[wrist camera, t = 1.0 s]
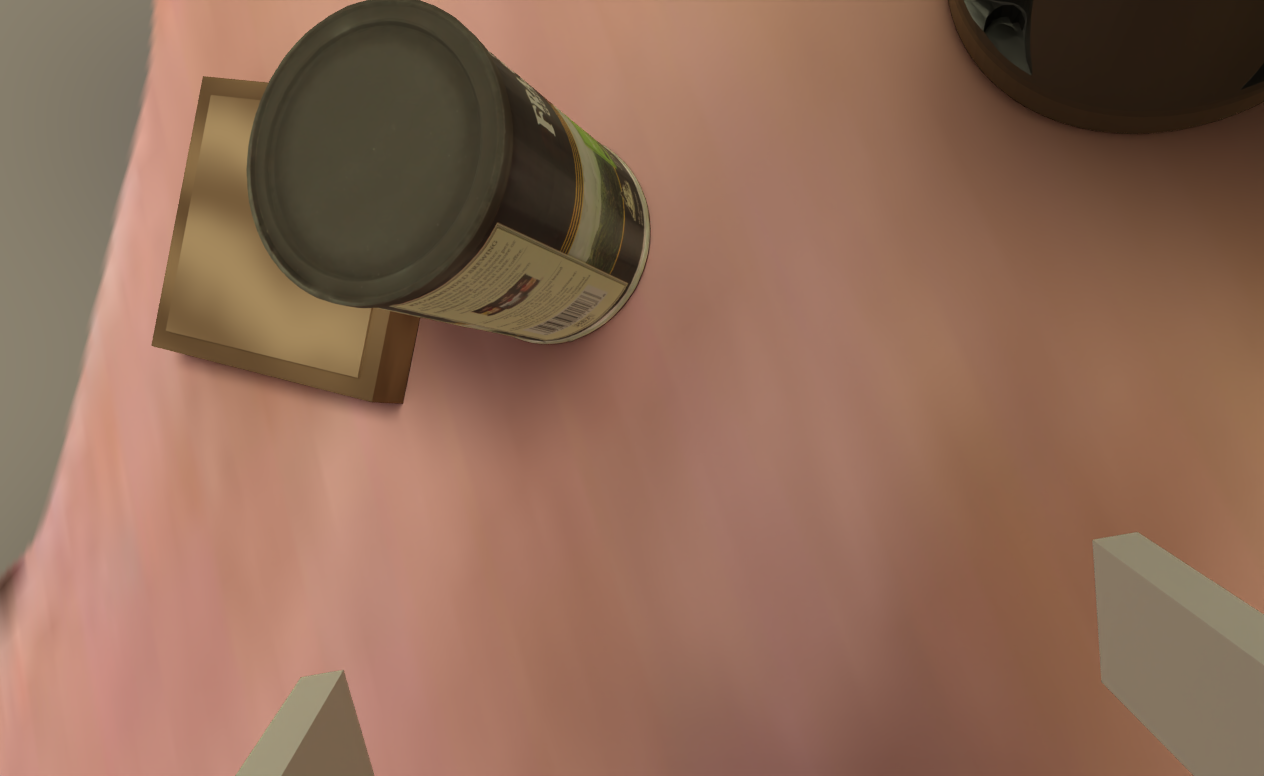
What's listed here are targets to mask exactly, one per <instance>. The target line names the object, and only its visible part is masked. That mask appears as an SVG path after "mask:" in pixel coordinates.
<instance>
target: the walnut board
mask: <svg viewBox="0 0 1264 776" xmlns="http://www.w3.org/2000/svg"><path fill="white" fill-rule="evenodd" d="M267 85H268V83H266V82H256V81H246V80H235V79H225V78H215V77H204V76H203V79H202V85H201V90H200V95H199V100H198V105H197V111H196V116H195V121H194V126H193V132H192V137H191V142H190V147H189V152H188V158H187V163H186V168H185V173H184V179H183V184H182V189H181V194H180V199H179V205H178V210H177V215H176V220H175V226H174V231H173V236H172V241H171V246H170V252H169V257H168V262H167V267H166V273H165V278H164V283H163V288H162V293H161V299H160V304H159V309H158V314H157V319H156V325H155V330H154V335H153V340H152V346H154V347H158V348H162V349H166V350H170V351H174V352H178V353H182V354H186V355H189V356H193V357H197V358H201V359H205V360H209V361H213V362H217V363H221V364H225V365H229V366H233V367H236V368H240V369H244V370H248V371H252V372H256V373H260V374H264V375H268V376H272V377H276V378H279V379H283V380H287V381H291V382H295V383H299V384H303V385H307V386H311V387H315V388H319V389H323V390H326V391H330V392H334V393H338V394H342V395H346V396H350V397H354V398H358V399H362V400H366V401H369V402H381V403H403V399H404V394H405V389H406V384H407V379H408V374H409V369H410V364H411V359H412V354H413V349H414V344H415V339H416V334H417V329H418V324H419V319H420V317H417V316H412V315H407V314H402V313H398V312H393V311H388V310H384V309H379V308H355V307H349V306H343V305H339V304H335V303H331V302H328V301H325V300H322V299H319V298H316V297H314V296H312V295H310V294H309V293H307V292H305V291H304V290H302V289H301V288H299V287H298V286H297V285H296V284H294V283H293V282H292V281H291V280H289V279H288V278H287V277H286V276H285V274H284V273H283V272H282V271H281V270H280V269H279V268H278V266H277V265H276V264H275V263H274V261H273V260H272V259H271V257H270V256H269V254H268V252H267V250H266V249H265V247H264V245H263V243H262V241H261V239H260V236H259V234H258V232H257V229H256V226H255V223H254V220H253V217H252V213H251V209H250V204H249V198H248V189H247V172H246V168H247V154H248V145H249V139H250V134H251V130H252V126H253V122H254V118H255V115H256V112H257V109H258V106H259V103H260V100H261V98H262V96H263V94H264V92H265V89H266V87H267Z"/></svg>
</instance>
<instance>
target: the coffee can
mask: <svg viewBox="0 0 1264 776" xmlns="http://www.w3.org/2000/svg"><path fill="white" fill-rule="evenodd" d="M246 172H247V189H248V198H249V204H250V209H251V213H252V217H253V220H254V223H255V226H256V229H257V232H258V234H259V236H260V239H261V241H262V243H263V245H264V247H265V249H266V250H267V252H268V254H269V256H270V257H271V259H272V260H273V261H274V263H275V264H276V265H277V266H278V268H279V269H280V270H281V271H282V272H283V273H284V274H285V276H286V277H287V278H288V279H289V280H291V281H292V282H293V283H294V284H296V285H297V286H298V287H299V288H301V289H302V290H304V291H305V292H307V293H309V294H310V295H312V296H314V297H316V298H319V299H322V300H325V301H328V302H331V303H335V304H339V305H343V306H349V307H355V308H379V309H384V310H388V311H393V312H398V313H402V314H407V315H412V316H417V317H422V318H427V319H431V320H436V321H440V322H445V323H449V324H454V325H458V326H463V327H468V328H474V329H479V330H484V331H488V332H493V333H498V334H503V335H508V336H512V337H515V338H517V339H520V340H523V341H527V342H531V343H539V344H556V343H563V342H567V341H573V340H575V339H577V338H580V337H582V336H584V335H587V334H589V333H591V332H592V331H594V330H596V329H597V328H599V327H600V326H602V325H603V324H605V323H606V322H607V321H608V320H610V319H611V318H612V317H613V316H614V315H615V314H616V313H617V312H618V311H619V310H620V309H621V308H622V306H623V305H624V304H625V303H626V301H627V300H628V298H629V297H630V296H631V294H632V293H633V292H634V290H635V288H636V286H637V284H638V281H639V279H640V277H641V274H642V272H643V270H644V266H645V263H646V259H647V255H648V250H649V241H650V221H649V213H648V207H647V203H646V199H645V197H644V194H643V191H642V189H641V186H640V184H639V182H638V181H637V179H636V177H635V176H634V174H633V173H632V171H631V170H630V168H629V167H628V166H627V165H626V164H625V162H623V161H622V160H621V159H620V158H619V157H618V156H617V155H616V154H615V153H614V152H612V151H611V150H610V149H608V148H607V147H606V146H604V145H601V144H600V143H599V142H597V141H596V140H595V139H594V138H592V137H591V136H590V135H589V134H588V133H586V132H585V131H584V130H583V129H582V128H580V127H579V126H578V125H577V124H575V123H574V122H573V121H572V120H571V119H569V118H568V117H567V116H566V115H565V114H563V113H562V112H561V111H560V110H559V109H557V108H556V107H555V106H554V105H553V104H552V103H550V102H549V101H548V100H547V99H545V98H544V97H543V96H542V95H541V94H540V93H538V92H537V91H536V90H535V89H534V88H533V87H531V86H530V85H529V84H528V83H526V82H525V81H524V80H523V79H522V78H520V77H519V76H518V75H517V74H516V73H514V72H513V71H512V70H510V69H509V68H508V67H507V66H506V65H505V64H504V63H503V62H501V61H500V60H499V59H497V58H496V57H495V56H494V55H493V54H492V53H490V52H489V51H488V50H487V49H486V48H485V46H484V45H483V44H482V43H481V42H480V41H479V40H478V38H477V37H476V36H475V35H474V34H473V33H472V32H470V31H469V30H468V29H467V28H466V27H465V26H464V25H463V24H462V23H461V22H460V21H458V20H457V19H456V18H455V17H453V16H452V15H450V14H449V13H447V12H445V11H443V10H442V9H440V8H438V7H436V6H434V5H431V4H428V3H426V2H423V1H420V0H366V1H363V2H359V3H356V4H352V5H349V6H347V7H345V8H343V9H341V10H339V11H337V12H335V13H334V14H332V15H330V16H328V17H327V18H326V19H324V20H323V21H321V22H320V23H318V24H317V25H316V26H314V27H313V28H312V29H311V30H309V31H308V32H307V33H306V34H305V35H304V36H303V37H302V38H301V39H300V40H299V41H298V42H297V43H296V44H295V45H294V46H293V48H292V49H291V50H290V51H289V52H288V54H287V55H286V56H285V57H284V59H283V60H282V62H281V63H280V65H279V67H278V68H277V69H276V71H275V73H274V75H273V76H272V78H271V79H270V81H269V83H268V85H267V87H266V89H265V92H264V94H263V96H262V98H261V100H260V103H259V106H258V109H257V112H256V115H255V118H254V122H253V126H252V130H251V134H250V139H249V145H248V154H247V168H246Z"/></svg>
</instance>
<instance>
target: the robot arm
mask: <svg viewBox="0 0 1264 776" xmlns="http://www.w3.org/2000/svg"><path fill="white" fill-rule="evenodd" d="M948 2H949V6H950V10H951V14H952V18H953V21H954V24H955V27H956V29H957V31H958V34H959V36H960V38H961V40H962V42H963V44H964V46H965V48H966V49H967V51H968V53H969V54H970V56H971V57H972V59H973V60H974V62H975V63H976V64H977V65H978V67H979V68H980V69H981V70H982V72H983V73H984V74H985V75H986V76H987V77H988V78H989V79H990V80H991V81H992V82H993V83H994V84H995V85H996V86H997V87H999V88H1000V89H1001V90H1002V91H1003V92H1005V93H1006V94H1007V95H1009V96H1010V97H1011V98H1013V99H1014V100H1016V101H1017V102H1019V103H1020V104H1022V105H1024V106H1025V107H1027V108H1029V109H1031V110H1033V111H1035V112H1037V113H1039V114H1041V115H1043V116H1046V117H1048V118H1050V119H1053V120H1056V121H1059V122H1062V123H1065V124H1068V125H1072V126H1076V127H1079V128H1084V129H1089V130H1095V131H1102V132H1110V133H1127V134H1136V133H1157V132H1167V131H1174V130H1181V129H1185V128H1190V127H1195V126H1199V125H1203V124H1207V123H1210V122H1214V121H1217V120H1220V119H1223V118H1226V117H1229V116H1232V115H1235V114H1237V113H1239V112H1242V111H1244V110H1247V109H1249V108H1251V107H1253V106H1255V105H1258V104H1260V103H1262V102H1264V0H948ZM1093 556H1094V572H1095V588H1096V603H1097V619H1098V635H1099V651H1100V667H1101V682H1102V683H1103V684H1104V685H1105V686H1106V687H1107V688H1108V689H1109V690H1110V691H1111V692H1112V693H1113V694H1114V695H1115V696H1116V697H1117V698H1118V699H1119V700H1120V701H1121V702H1122V703H1123V704H1124V705H1125V706H1126V707H1127V708H1128V709H1129V710H1130V711H1131V712H1132V713H1133V714H1134V716H1135V717H1136V718H1137V719H1138V720H1139V721H1140V722H1141V723H1142V724H1143V725H1144V726H1145V727H1146V728H1147V729H1148V730H1149V731H1150V732H1151V733H1152V734H1153V735H1154V736H1155V737H1156V738H1157V739H1158V740H1159V741H1160V742H1161V743H1162V744H1163V745H1164V746H1165V747H1166V748H1167V749H1168V750H1169V751H1170V752H1171V753H1172V754H1173V755H1174V756H1175V757H1176V758H1177V759H1178V760H1179V761H1180V762H1181V763H1182V764H1183V765H1184V766H1185V767H1186V768H1187V769H1188V770H1189V771H1190V772H1191V773H1192V774H1193V775H1194V776H1264V614H1262V613H1261V612H1259V611H1258V610H1256V609H1255V608H1253V607H1251V606H1250V605H1248V604H1247V603H1245V602H1244V601H1242V600H1241V599H1239V598H1238V597H1236V596H1235V595H1233V594H1232V593H1230V592H1229V591H1227V590H1225V589H1224V588H1222V587H1221V586H1219V585H1218V584H1216V583H1215V582H1213V581H1212V580H1210V579H1209V578H1207V577H1206V576H1204V575H1202V574H1201V573H1199V572H1198V571H1196V570H1195V569H1193V568H1192V567H1190V566H1189V565H1187V564H1186V563H1184V562H1183V561H1181V560H1180V559H1178V558H1176V557H1175V556H1173V555H1172V554H1170V553H1169V552H1167V551H1166V550H1164V549H1163V548H1161V547H1160V546H1158V545H1157V544H1155V543H1153V542H1152V541H1150V540H1149V539H1147V538H1146V537H1144V536H1143V535H1141V534H1140V533H1138V532H1135V533H1129V534H1123V535H1117V536H1112V537H1106V538H1100V539H1094V540H1093ZM236 776H374V772H373V769H372V765H371V762H370V759H369V755H368V752H367V748H366V745H365V741H364V738H363V735H362V731H361V728H360V724H359V721H358V718H357V714H356V711H355V707H354V704H353V700H352V697H351V694H350V690H349V687H348V683H347V680H346V677H345V673H344V670H340V671H334V672H328V673H322V674H317V675H311V676H305V677H301V678H300V680H299V681H298V683H297V684H296V686H295V687H294V689H293V690H292V692H291V693H290V695H289V696H288V698H287V699H286V701H285V702H284V704H283V705H282V707H281V708H280V710H279V711H278V713H277V714H276V716H275V717H274V719H273V720H272V722H271V723H270V725H269V726H268V728H267V729H266V731H265V732H264V734H263V735H262V737H261V738H260V740H259V741H258V743H257V744H256V746H255V747H254V749H253V750H252V752H251V753H250V755H249V756H248V758H247V759H246V761H245V762H244V764H243V765H242V767H241V768H240V770H239V771H238V773H237V774H236Z"/></svg>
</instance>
